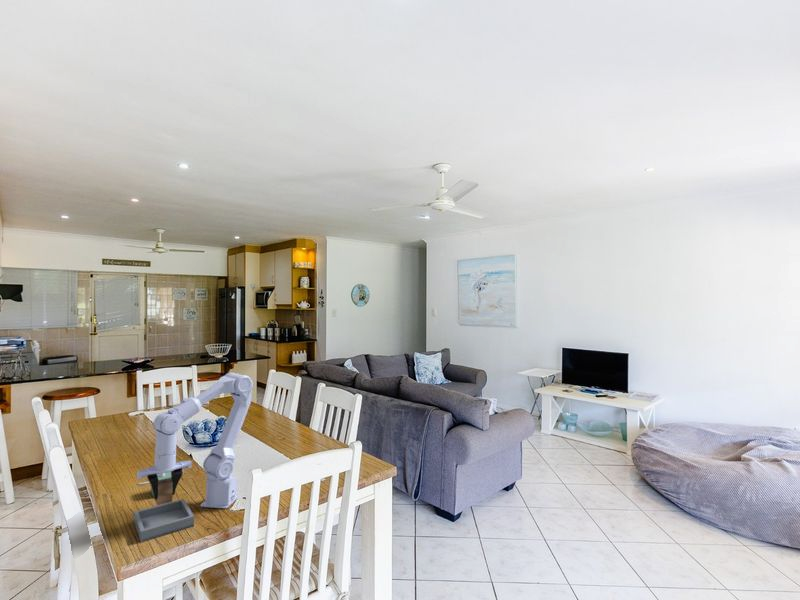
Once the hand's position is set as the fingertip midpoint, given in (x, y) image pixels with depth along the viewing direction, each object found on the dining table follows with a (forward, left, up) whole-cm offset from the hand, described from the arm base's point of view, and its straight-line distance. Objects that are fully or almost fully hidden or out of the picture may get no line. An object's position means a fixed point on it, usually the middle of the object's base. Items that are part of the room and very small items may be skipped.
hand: (164, 496), depth 126 cm
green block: (+14, -19, -8) cm, 25 cm away
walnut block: (0, 0, -2) cm, 2 cm away
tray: (0, 0, -8) cm, 8 cm away
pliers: (+22, -31, -9) cm, 39 cm away
